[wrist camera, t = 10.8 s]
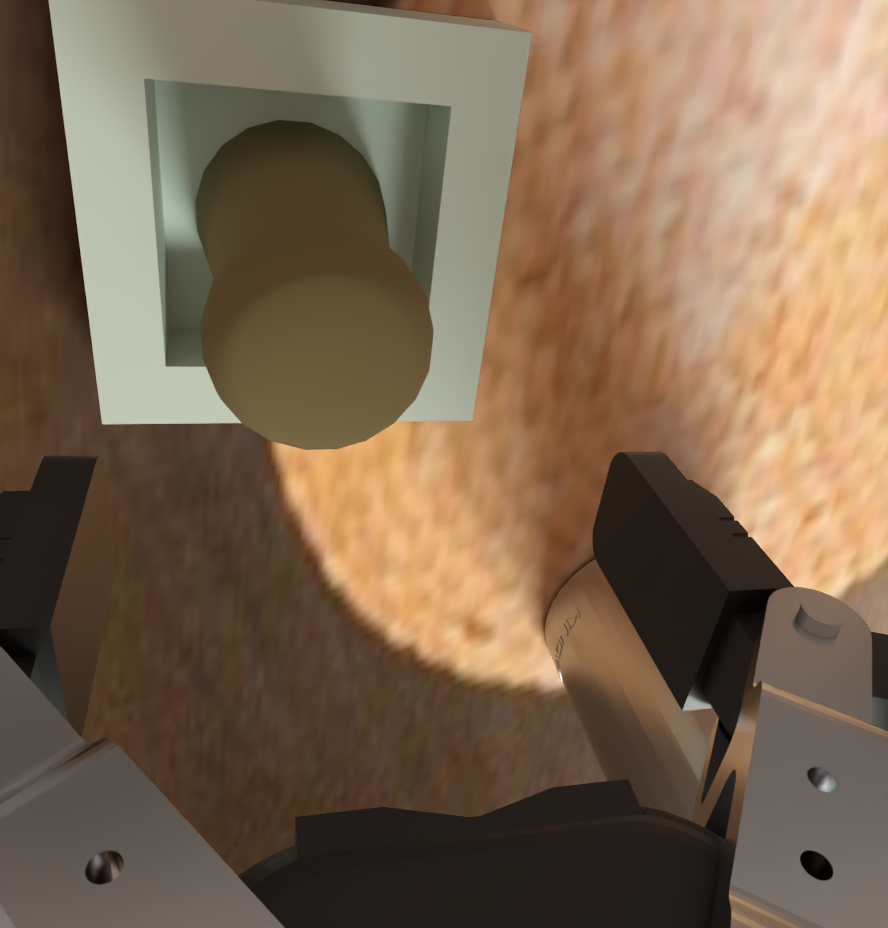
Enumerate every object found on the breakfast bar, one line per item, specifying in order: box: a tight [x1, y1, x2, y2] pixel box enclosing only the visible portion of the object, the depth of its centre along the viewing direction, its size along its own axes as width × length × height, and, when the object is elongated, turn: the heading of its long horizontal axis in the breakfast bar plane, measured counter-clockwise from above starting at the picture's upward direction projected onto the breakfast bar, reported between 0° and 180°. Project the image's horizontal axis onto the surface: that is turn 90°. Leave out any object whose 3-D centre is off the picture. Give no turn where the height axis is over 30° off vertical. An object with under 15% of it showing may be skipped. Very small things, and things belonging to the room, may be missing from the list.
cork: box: [195, 120, 434, 450], centre depth 21 cm, size 6×6×11 cm
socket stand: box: [49, 0, 532, 424], centre depth 25 cm, size 12×12×4 cm
